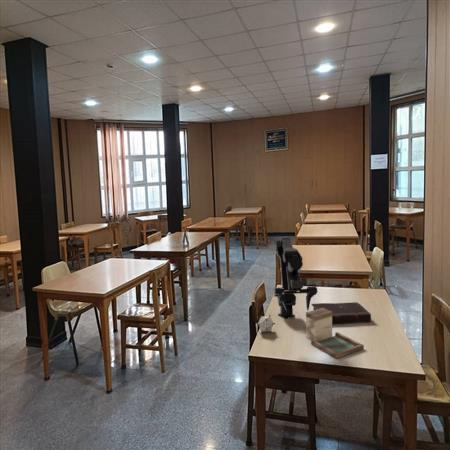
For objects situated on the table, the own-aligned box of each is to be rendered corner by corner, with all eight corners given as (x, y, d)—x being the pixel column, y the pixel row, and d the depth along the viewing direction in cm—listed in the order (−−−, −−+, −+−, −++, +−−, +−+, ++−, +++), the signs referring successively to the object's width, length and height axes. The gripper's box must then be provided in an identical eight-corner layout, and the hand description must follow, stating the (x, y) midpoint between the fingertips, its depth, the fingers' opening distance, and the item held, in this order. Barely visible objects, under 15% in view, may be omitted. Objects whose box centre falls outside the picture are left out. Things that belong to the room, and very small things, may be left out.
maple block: (306, 337, 169) (306, 312, 167) (322, 332, 174) (322, 307, 172) (315, 342, 164) (315, 316, 162) (332, 336, 168) (332, 311, 167)
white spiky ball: (268, 337, 179) (277, 318, 181) (270, 338, 171) (280, 319, 173) (251, 328, 180) (261, 309, 182) (253, 329, 171) (263, 309, 173)
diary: (371, 323, 182) (371, 313, 182) (321, 326, 181) (321, 316, 180) (356, 309, 201) (356, 300, 200) (310, 312, 200) (310, 303, 199)
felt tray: (311, 344, 162) (311, 340, 162) (337, 335, 169) (337, 332, 169) (336, 358, 149) (336, 354, 149) (363, 349, 156) (363, 345, 156)
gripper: (274, 271, 161) (278, 307, 154) (317, 270, 161) (322, 306, 154) (272, 279, 171) (275, 313, 165) (312, 277, 171) (317, 311, 164)
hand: (297, 310), depth 162 cm, fingers open, 9 cm apart
